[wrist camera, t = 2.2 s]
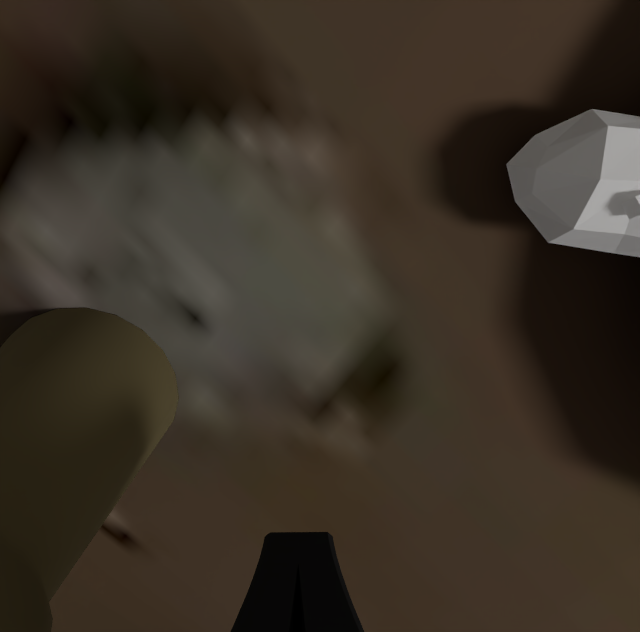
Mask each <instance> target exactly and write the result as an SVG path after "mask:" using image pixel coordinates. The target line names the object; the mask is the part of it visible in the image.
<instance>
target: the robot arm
mask: <svg viewBox="0 0 640 632" xmlns="http://www.w3.org/2000/svg"><path fill="white" fill-rule="evenodd" d="M231 632H364V630H363V628H362V625H361V623H360V621H359V618H358V616H357V613H356V611H355V608H354V606H353V604H352V601H351V598H350V596H349V593H348V590H347V587H346V585H345V582H344V579H343V576H342V573H341V569H340V566H339V563H338V559H337V556H336V551H335V547H334V542H333V536H332V535H330V534H329V533H328V532H279V533H269V534H268V535H266V536H265V539H264V543H263V548H262V552H261V555H260V559H259V562H258V565H257V568H256V571H255V574H254V576H253V579H252V582H251V585H250V587H249V590H248V593H247V595H246V597H245V600H244V602H243V604H242V607H241V609H240V611H239V614H238V616H237V618H236V621H235V623H234V626H233V628H232V630H231Z"/></svg>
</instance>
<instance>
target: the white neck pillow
mask: <svg viewBox="0 0 640 632" xmlns="http://www.w3.org/2000/svg"><path fill="white" fill-rule="evenodd" d="M506 165H507V170H508V174H509V178H510V183H511V187H512V191H513V195H514V200H515V202H516V204H517V205H518V206H519V207H520V208H521V210H522V211H523V212H524V213H525V215H526V216H527V217H528V218H529V220H530V221H531V222H532V223H533V225H534V226H535V227H536V228H537V230H538V231H539V232H540V233H541V234H542V236H543V237H544V238H545V239H546V241H547V242H548V243H554V244H560V245H566V246H572V247H578V248H584V249H590V250H596V251H602V252H609V253H615V254H621V255H628V256H634V257H640V117H639V116H633V115H627V114H621V113H614V112H608V111H602V110H596V109H590V110H588V111H586V112H584V113H581V114H579V115H577V116H575V117H573V118H571V119H568V120H566V121H564V122H562V123H560V124H558V125H555V126H553V127H551V128H549V129H547V130H545V131H542V132H540V133H538V134H536V135H534V136H533V137H532V138H531V139H530V141H529V142H528V143H527V144H526V145H525V146H524V147H523V148H522V149H521V150H520V151H519V152H518V153H517V154H516V155H515V156H514V157H513V158H512V159H511V160H510V161H509V162H508V163H507V164H506Z"/></svg>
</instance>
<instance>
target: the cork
mask: <svg viewBox="0 0 640 632" xmlns="http://www.w3.org/2000/svg"><path fill="white" fill-rule="evenodd" d="M178 399H179V396H178V389H177V383H176V376H175V373H174V371H173V369H172V367H171V365H170V363H169V361H168V359H167V357H166V356H165V354H164V352H163V350H162V349H161V348H160V347H159V346H158V345H157V344H156V343H155V342H154V341H153V340H152V339H151V338H150V337H149V336H148V335H147V334H146V333H145V332H144V331H143V330H141V329H140V328H138V327H136V326H134V325H133V324H131V323H129V322H127V321H125V320H124V319H122V318H120V317H118V316H117V315H113V314H109V313H105V312H101V311H97V310H93V309H89V308H63V309H54V310H52V311H49V312H46V313H43V314H40V315H38V316H35V317H32V318H30V319H29V320H28V321H26V322H25V323H24V324H23V325H22V326H20V327H19V328H18V329H17V330H16V331H15V332H13V333H12V334H11V335H10V336H9V337H8V339H7V340H6V341H5V342H4V343H3V345H2V346H1V347H0V632H51V627H52V620H53V618H52V614H51V610H50V605H49V601H50V600H51V598H52V597H53V595H54V594H55V593H56V591H57V590H58V588H59V587H60V585H61V584H62V582H63V581H64V579H65V578H66V577H67V575H68V574H69V572H70V571H71V569H72V568H73V566H74V565H75V563H76V562H77V561H78V559H79V558H80V556H81V555H82V553H83V552H84V550H85V549H86V547H87V546H88V544H89V543H90V542H91V540H92V539H93V537H94V536H95V534H96V533H97V531H98V530H99V528H100V527H101V526H102V524H103V523H104V521H105V520H106V518H107V517H108V515H109V514H110V512H111V511H112V510H113V508H114V507H115V505H116V504H117V502H118V501H119V499H120V498H121V496H122V495H123V494H124V492H125V491H126V489H127V488H128V486H129V485H130V483H131V482H132V480H133V479H134V478H135V476H136V475H137V473H138V472H139V470H140V469H141V467H142V466H143V464H144V463H145V462H146V460H147V459H148V457H149V456H150V454H151V453H152V451H153V450H154V448H155V447H156V445H157V444H158V443H159V441H160V440H161V438H162V437H163V435H164V434H165V432H166V431H167V429H168V428H169V426H170V425H171V424H172V422H173V421H174V417H175V413H176V408H177V404H178Z"/></svg>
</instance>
